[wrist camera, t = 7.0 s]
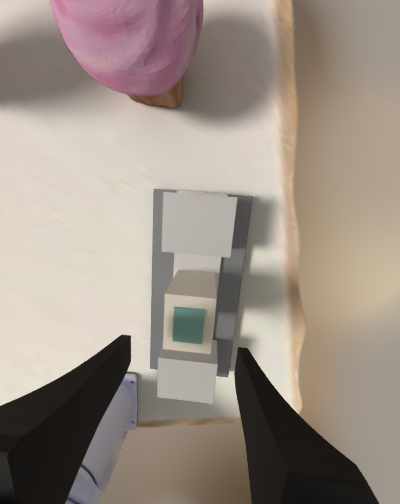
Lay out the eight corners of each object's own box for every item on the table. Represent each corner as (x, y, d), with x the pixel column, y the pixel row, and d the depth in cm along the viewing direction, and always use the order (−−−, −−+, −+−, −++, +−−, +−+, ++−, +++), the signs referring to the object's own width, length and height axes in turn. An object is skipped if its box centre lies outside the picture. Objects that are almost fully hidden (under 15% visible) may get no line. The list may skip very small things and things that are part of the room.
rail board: (227, 370, 24) (231, 409, 20) (152, 362, 25) (138, 398, 20) (250, 197, 19) (263, 192, 15) (156, 190, 20) (139, 183, 15)
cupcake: (113, 126, 19) (7, 35, 9) (113, 18, 17) (-23, -248, 7) (200, 134, 18) (189, 50, 9) (211, 26, 16) (211, -242, 7)
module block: (210, 314, 21) (210, 355, 15) (176, 310, 21) (162, 350, 15) (214, 272, 20) (216, 299, 14) (178, 269, 20) (164, 294, 14)
